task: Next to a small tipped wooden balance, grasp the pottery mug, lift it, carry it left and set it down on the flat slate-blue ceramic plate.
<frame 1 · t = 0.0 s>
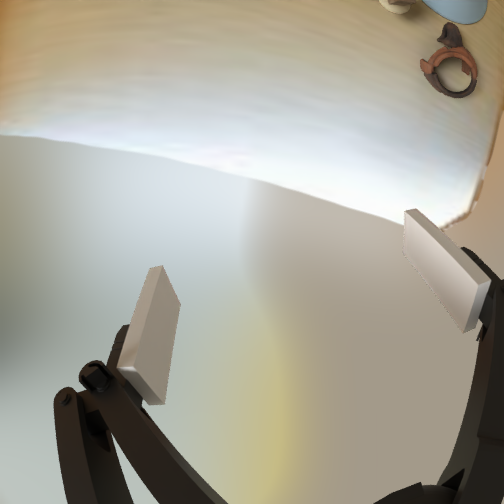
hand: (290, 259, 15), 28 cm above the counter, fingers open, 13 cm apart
pottery mug: (439, 59, 32), on the counter
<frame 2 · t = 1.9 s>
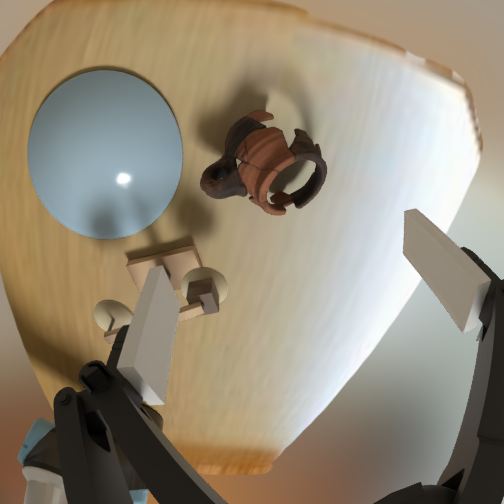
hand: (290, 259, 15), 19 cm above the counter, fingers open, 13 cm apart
pottery mug: (258, 157, 31), on the counter
balance: (167, 269, 37), on the counter
plate: (97, 158, 29), on the counter
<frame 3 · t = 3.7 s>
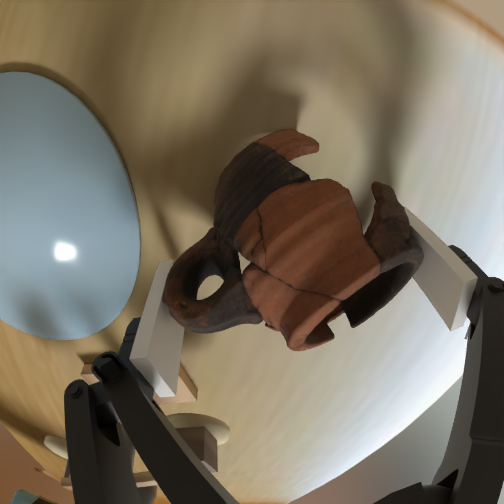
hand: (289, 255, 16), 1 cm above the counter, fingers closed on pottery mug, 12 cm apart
pottery mug: (280, 222, 17), on the counter, touching gripper
balance: (139, 378, 23), on the counter
plate: (8, 225, 15), on the counter
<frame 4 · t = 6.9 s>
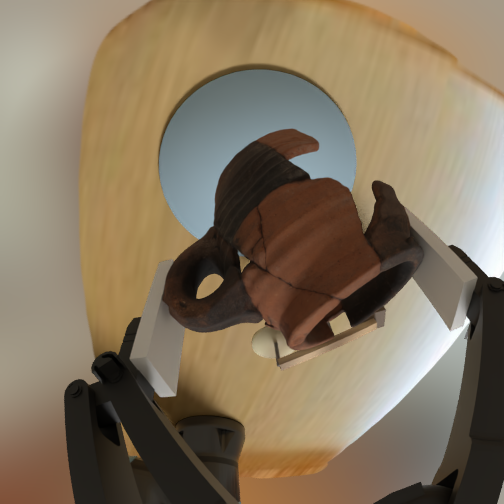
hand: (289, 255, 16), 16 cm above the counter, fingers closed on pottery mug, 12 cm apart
pottery mug: (280, 221, 17), point 14 cm above the counter, touching gripper
balance: (310, 286, 38), on the counter
plate: (259, 168, 30), on the counter
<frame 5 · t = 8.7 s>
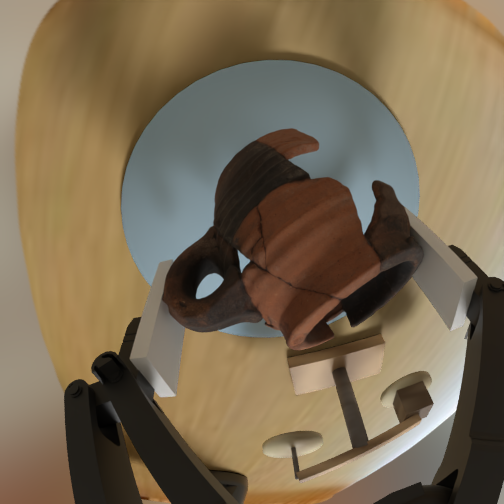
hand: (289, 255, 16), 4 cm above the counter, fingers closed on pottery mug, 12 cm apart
pottery mug: (280, 221, 17), point 2 cm above the counter, touching gripper
balance: (336, 362, 27), on the counter
plate: (278, 221, 19), on the counter
when the fingers open (2 cm above the counter, at t = 9.9 s): pottery mug stays where it is, resting on plate.
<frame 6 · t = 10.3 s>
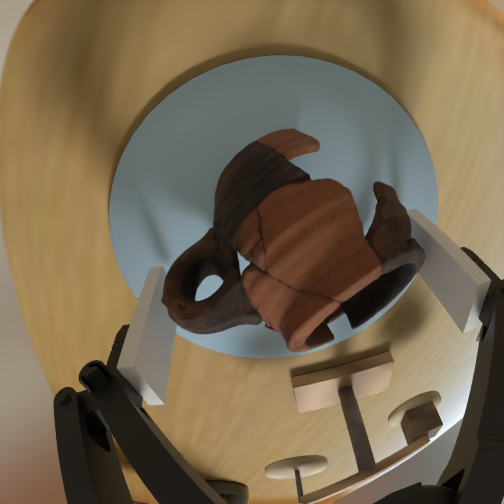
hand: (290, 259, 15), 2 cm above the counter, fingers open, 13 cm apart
pottery mug: (281, 222, 17), resting on plate
balance: (342, 379, 25), on the counter
plate: (284, 238, 17), on the counter
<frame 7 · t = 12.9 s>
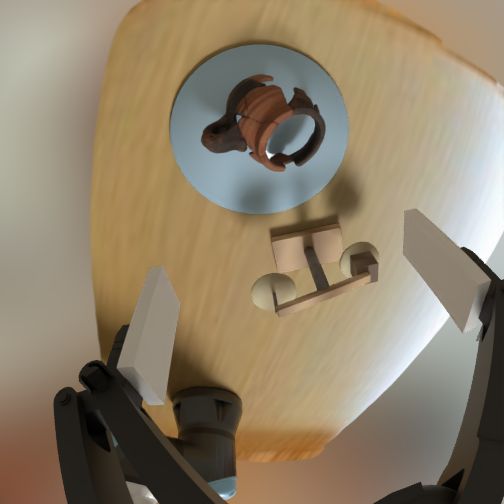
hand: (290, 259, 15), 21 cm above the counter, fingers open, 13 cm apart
pottery mug: (258, 119, 31), resting on plate
balance: (307, 246, 40), on the counter
plate: (261, 131, 32), on the counter
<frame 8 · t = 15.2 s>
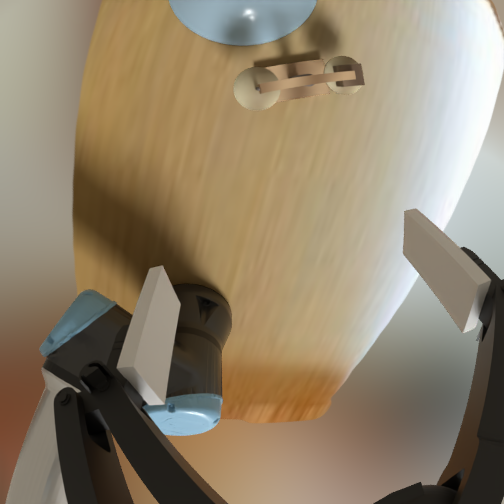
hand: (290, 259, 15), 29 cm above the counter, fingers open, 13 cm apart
balance: (292, 81, 35), on the counter
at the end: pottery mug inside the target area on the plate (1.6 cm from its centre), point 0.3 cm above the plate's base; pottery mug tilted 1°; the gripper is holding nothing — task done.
